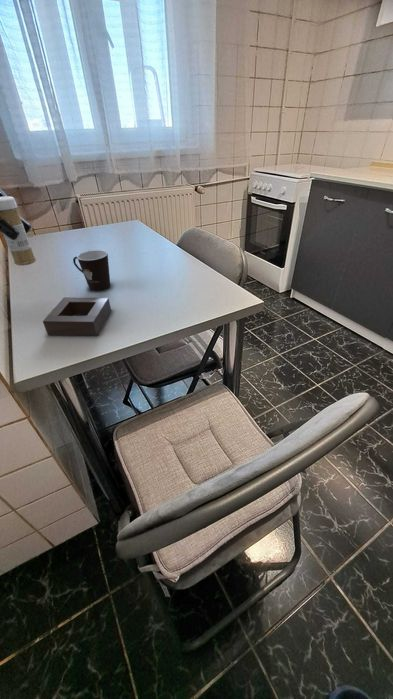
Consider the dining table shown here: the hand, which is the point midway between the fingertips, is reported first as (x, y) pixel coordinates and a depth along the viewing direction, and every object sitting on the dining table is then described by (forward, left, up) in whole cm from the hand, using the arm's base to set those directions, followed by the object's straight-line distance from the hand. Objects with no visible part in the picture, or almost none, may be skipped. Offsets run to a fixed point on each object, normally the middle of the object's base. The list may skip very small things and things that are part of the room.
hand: (23, 233), depth 63 cm
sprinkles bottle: (0, +2, -7) cm, 7 cm away
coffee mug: (+20, -5, -22) cm, 30 cm away
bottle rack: (-2, -8, -22) cm, 23 cm away
